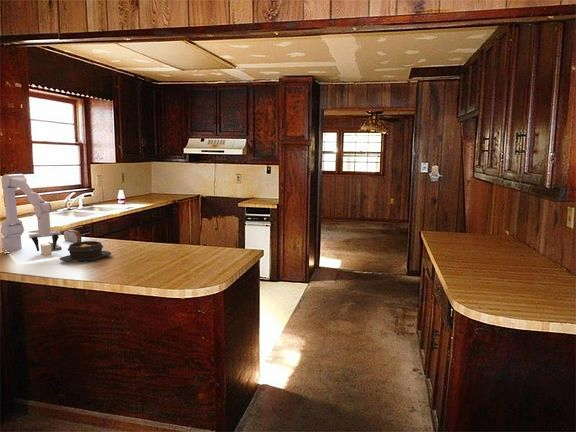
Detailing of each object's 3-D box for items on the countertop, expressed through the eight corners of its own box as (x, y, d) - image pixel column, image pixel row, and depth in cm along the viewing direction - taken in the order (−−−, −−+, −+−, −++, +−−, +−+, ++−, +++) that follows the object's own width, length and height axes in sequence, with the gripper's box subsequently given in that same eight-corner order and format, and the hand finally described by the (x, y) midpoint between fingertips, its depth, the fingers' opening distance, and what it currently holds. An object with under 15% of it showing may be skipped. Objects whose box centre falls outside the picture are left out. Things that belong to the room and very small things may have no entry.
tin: (82, 244, 263) (81, 230, 262) (77, 245, 261) (76, 231, 260) (68, 241, 271) (67, 228, 270) (63, 242, 269) (62, 229, 267)
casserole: (66, 267, 212) (65, 250, 211) (55, 260, 225) (53, 244, 224) (117, 258, 229) (116, 243, 228) (103, 252, 243) (102, 237, 241)
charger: (43, 257, 230) (42, 245, 229) (41, 256, 234) (40, 244, 233) (51, 256, 233) (50, 244, 232) (49, 254, 237) (48, 243, 236)
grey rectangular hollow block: (47, 253, 239) (47, 247, 238) (42, 249, 250) (42, 242, 250) (61, 252, 243) (61, 245, 242) (56, 247, 255) (55, 241, 254)
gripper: (29, 227, 223) (32, 253, 225) (60, 224, 232) (62, 249, 234) (27, 225, 229) (29, 250, 231) (57, 222, 238) (59, 247, 240)
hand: (46, 249), depth 233 cm, fingers open, 7 cm apart
